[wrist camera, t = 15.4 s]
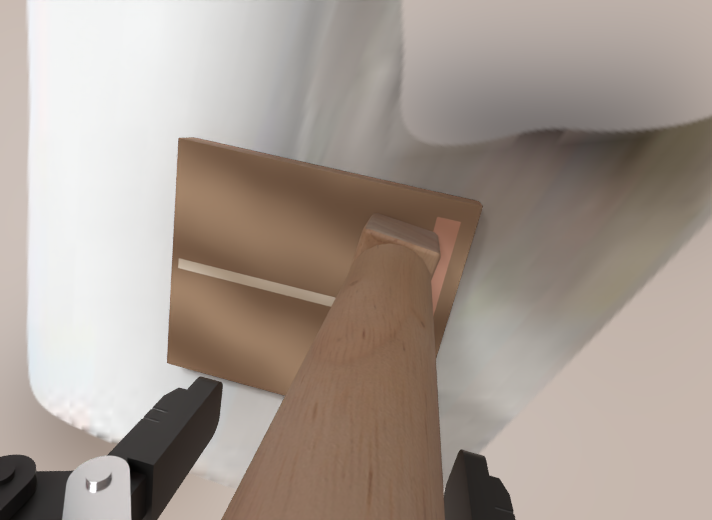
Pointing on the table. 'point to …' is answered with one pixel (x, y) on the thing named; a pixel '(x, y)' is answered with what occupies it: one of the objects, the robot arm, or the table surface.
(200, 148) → the board
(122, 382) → the table surface
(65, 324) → the table surface
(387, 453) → the tan cylinder-on-bar part
